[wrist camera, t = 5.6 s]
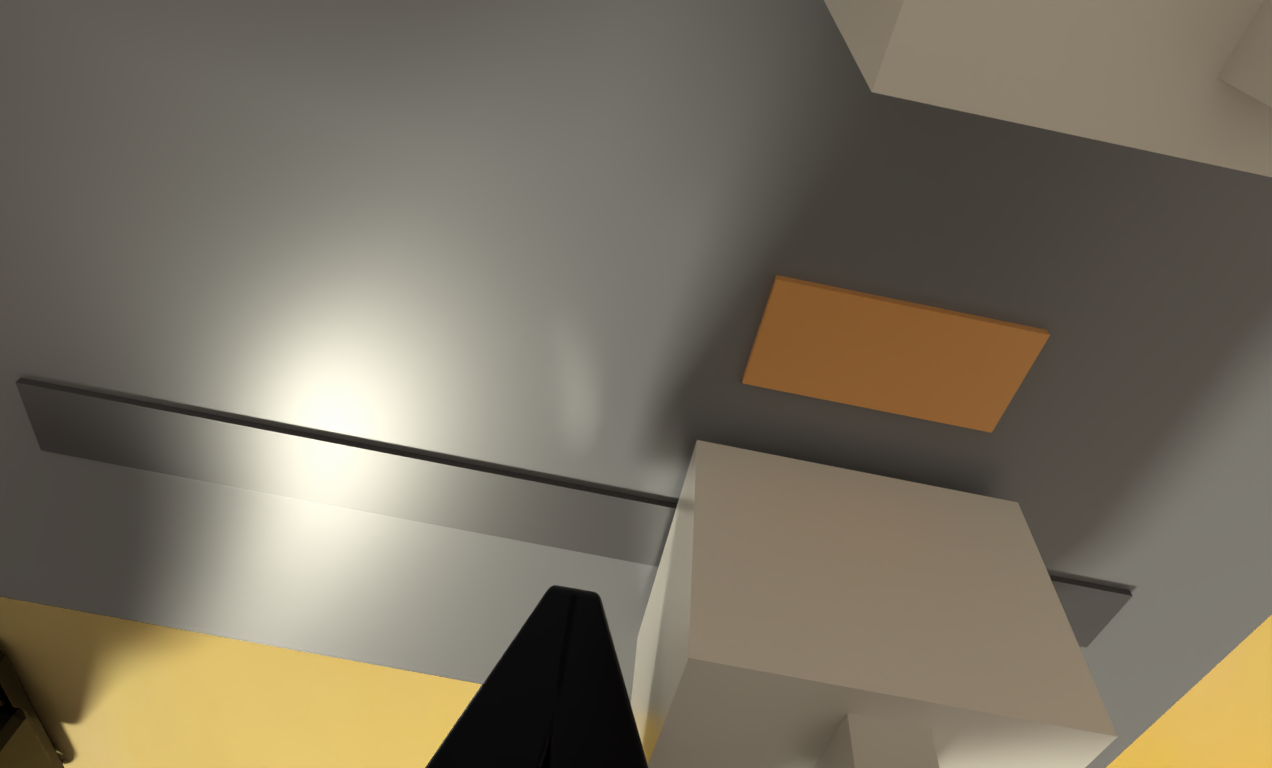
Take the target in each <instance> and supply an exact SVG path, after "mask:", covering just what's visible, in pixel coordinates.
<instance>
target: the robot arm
mask: <svg viewBox="0 0 1272 768" xmlns="http://www.w3.org/2000/svg"><path fill="white" fill-rule="evenodd" d="M0 768H64V766H63V764H62V763H61V761H60V759H59V757H58V755H57V753H56V751H55V749H54V747H53V745H52V743H51V742H50V740H49V738H48V736H47V734H46V732H45V730H44V728H43V726H42V724H41V722H40V721H39V719H38V717H37V715H36V713H35V711H34V709H33V707H32V705H31V703H30V701H29V700H28V698H27V696H26V694H25V692H24V690H23V688H22V686H21V684H20V682H19V680H18V678H17V677H16V675H15V673H14V671H13V669H12V667H11V665H10V663H9V661H8V659H7V657H6V656H5V654H4V653H3V652H2V651H1V650H0ZM425 768H648V764H647V761H646V757H645V753H644V750H643V746H642V743H641V739H640V736H639V732H638V728H637V725H636V721H635V718H634V714H633V710H632V707H631V703H630V700H629V696H628V693H627V689H626V685H625V682H624V678H623V675H622V671H621V667H620V664H619V660H618V657H617V653H616V650H615V646H614V642H613V639H612V635H611V632H610V628H609V624H608V621H607V617H606V614H605V610H604V607H603V603H602V600H601V597H600V596H599V594H598V593H596V592H593V591H587V590H582V589H576V588H570V587H564V586H558V585H553V586H551V587H549V588H548V589H547V590H546V592H545V593H544V595H543V596H542V598H541V599H540V600H539V602H538V603H537V605H536V606H535V608H534V609H533V611H532V612H531V614H530V615H529V617H528V618H527V620H526V621H525V622H524V624H523V625H522V627H521V628H520V630H519V631H518V633H517V634H516V636H515V637H514V639H513V640H512V641H511V643H510V644H509V646H508V647H507V649H506V650H505V652H504V653H503V655H502V656H501V658H500V659H499V661H498V662H497V663H496V665H495V666H494V668H493V669H492V671H491V672H490V674H489V675H488V677H487V678H486V680H485V681H484V683H483V684H482V685H481V687H480V688H479V690H478V691H477V693H476V694H475V696H474V697H473V699H472V700H471V702H470V703H469V704H468V706H467V707H466V709H465V710H464V712H463V713H462V715H461V716H460V718H459V719H458V721H457V722H456V724H455V725H454V726H453V728H452V729H451V731H450V732H449V734H448V735H447V737H446V738H445V740H444V741H443V743H442V744H441V746H440V747H439V748H438V750H437V751H436V753H435V754H434V756H433V757H432V759H431V760H430V762H429V763H428V765H427V766H426V767H425Z"/></svg>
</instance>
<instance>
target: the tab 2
mask: <svg viewBox="0 0 1272 768" xmlns="http://www.w3.org/2000/svg"><path fill="white" fill-rule="evenodd" d="M631 707H632V710H633V714H634V718H635V721H636V725H637V728H638V732H639V736H640V739H641V743H642V746H643V750H644V753H645V757H646V761H647V764H648V768H1085V767H1086V766H1088V765H1089V764H1090V763H1091V762H1092V761H1093V760H1094V759H1095V758H1096V757H1097V756H1098V755H1099V754H1100V753H1101V752H1102V751H1103V750H1104V749H1105V748H1106V747H1108V746H1109V745H1110V744H1111V743H1112V742H1113V741H1114V740H1115V739H1116V738H1117V737H1118V736H1117V734H1116V732H1115V729H1114V727H1113V725H1112V722H1111V720H1110V718H1109V715H1108V713H1107V711H1106V708H1105V706H1104V703H1103V701H1102V699H1101V696H1100V694H1099V692H1098V689H1097V687H1096V685H1095V682H1094V680H1093V678H1092V675H1091V673H1090V671H1089V668H1088V666H1087V663H1086V661H1085V659H1084V656H1083V654H1082V652H1081V649H1080V647H1079V645H1078V642H1077V640H1076V638H1075V635H1074V633H1073V631H1072V628H1071V626H1070V623H1069V621H1068V619H1067V616H1066V614H1065V612H1064V609H1063V607H1062V605H1061V602H1060V600H1059V598H1058V595H1057V593H1056V591H1055V588H1054V586H1053V583H1052V581H1051V579H1050V576H1049V574H1048V572H1047V569H1046V567H1045V565H1044V562H1043V560H1042V558H1041V555H1040V553H1039V551H1038V548H1037V546H1036V543H1035V541H1034V539H1033V536H1032V534H1031V532H1030V529H1029V527H1028V525H1027V522H1026V520H1025V518H1024V515H1023V513H1022V511H1021V508H1020V506H1019V503H1018V502H1013V501H1008V500H1003V499H998V498H993V497H988V496H982V495H977V494H972V493H967V492H962V491H957V490H952V489H946V488H941V487H936V486H931V485H926V484H921V483H916V482H911V481H905V480H900V479H895V478H890V477H885V476H880V475H875V474H870V473H864V472H859V471H854V470H849V469H844V468H839V467H834V466H828V465H823V464H818V463H813V462H808V461H803V460H798V459H793V458H787V457H782V456H777V455H772V454H767V453H762V452H757V451H752V450H746V449H741V448H736V447H731V446H726V445H721V444H716V443H710V442H705V441H700V440H697V441H696V444H695V448H694V451H693V454H692V458H691V461H690V464H689V468H688V471H687V474H686V478H685V481H684V484H683V488H682V491H681V494H680V498H679V501H678V504H677V507H676V511H675V514H674V517H673V521H672V524H671V527H670V531H669V534H668V537H667V541H666V544H665V547H664V551H663V554H662V557H661V561H660V564H659V567H658V571H657V574H656V577H655V581H654V584H653V587H652V591H651V594H650V597H649V601H648V604H647V607H646V611H645V614H644V617H643V621H642V624H641V627H640V631H639V634H638V638H637V648H636V658H635V668H634V678H633V688H632V698H631Z"/></svg>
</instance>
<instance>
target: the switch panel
mask: <svg viewBox="0 0 1272 768" xmlns="http://www.w3.org/2000/svg"><path fill="white" fill-rule="evenodd" d="M697 440H700V441H705V442H710V443H716V444H721V445H726V446H731V447H736V448H741V449H746V450H752V451H757V452H762V453H767V454H772V455H777V456H782V457H787V458H793V459H798V460H803V461H808V462H813V463H818V464H823V465H828V466H834V467H839V468H844V469H849V470H854V471H859V472H864V473H870V474H875V475H880V476H885V477H890V478H895V479H900V480H905V481H911V482H916V483H921V484H926V485H931V486H936V487H941V488H946V489H952V490H957V491H962V492H967V493H972V494H977V495H982V496H988V497H993V498H998V499H1003V500H1008V501H1013V502H1018V503H1019V506H1020V508H1021V511H1022V513H1023V515H1024V518H1025V520H1026V522H1027V525H1028V527H1029V529H1030V532H1031V534H1032V536H1033V539H1034V541H1035V543H1036V546H1037V548H1038V551H1039V553H1040V555H1041V558H1042V560H1043V562H1044V565H1045V567H1046V569H1047V572H1048V574H1049V576H1050V579H1051V581H1052V583H1053V586H1054V588H1055V591H1056V593H1057V595H1058V598H1059V600H1060V602H1061V605H1062V607H1063V609H1064V612H1065V614H1066V616H1067V619H1068V621H1069V623H1070V626H1071V628H1072V631H1073V633H1074V635H1075V638H1076V640H1077V642H1078V645H1079V647H1080V649H1081V652H1082V654H1083V656H1084V659H1085V661H1086V663H1087V666H1088V668H1089V671H1090V673H1091V675H1092V678H1093V680H1094V682H1095V685H1096V687H1097V689H1098V692H1099V694H1100V696H1101V699H1102V701H1103V703H1104V706H1105V708H1106V711H1107V713H1108V715H1109V718H1110V720H1111V722H1112V725H1113V727H1114V729H1115V732H1116V734H1117V736H1118V737H1117V738H1116V739H1115V740H1114V741H1113V742H1112V743H1111V744H1110V745H1109V746H1108V747H1106V748H1105V749H1104V750H1103V751H1102V752H1101V753H1100V754H1099V755H1098V756H1097V757H1096V758H1095V759H1094V760H1093V761H1092V762H1091V763H1090V764H1089V765H1088V766H1086V767H1085V768H1106V767H1107V766H1108V765H1109V764H1110V763H1111V762H1112V761H1113V760H1114V759H1115V758H1117V757H1118V756H1119V755H1120V754H1121V753H1122V752H1123V751H1124V750H1125V749H1126V748H1127V747H1128V746H1130V745H1131V744H1132V743H1133V742H1134V741H1135V740H1136V739H1137V738H1138V737H1139V736H1140V735H1141V734H1143V733H1144V732H1145V731H1146V730H1147V729H1148V728H1149V727H1150V726H1151V725H1152V724H1153V723H1154V722H1156V721H1157V720H1158V719H1159V718H1160V717H1161V716H1162V715H1163V714H1164V713H1165V712H1166V711H1167V710H1169V709H1170V708H1171V707H1172V706H1173V705H1174V704H1175V703H1176V702H1177V701H1178V700H1179V699H1180V698H1182V697H1183V696H1184V695H1185V694H1186V693H1187V692H1188V691H1189V690H1190V689H1191V688H1192V687H1193V686H1195V685H1196V684H1197V683H1198V682H1199V681H1200V680H1201V679H1202V678H1203V677H1204V676H1205V675H1206V674H1208V673H1209V672H1210V671H1211V670H1212V669H1213V668H1214V667H1215V666H1216V665H1217V664H1218V663H1219V662H1221V661H1222V660H1223V659H1224V658H1225V657H1226V656H1227V655H1228V654H1229V653H1230V652H1231V651H1232V650H1234V649H1235V648H1236V647H1237V646H1238V645H1239V644H1240V643H1241V642H1242V641H1243V640H1244V639H1245V638H1247V637H1248V636H1249V635H1250V634H1251V633H1252V632H1253V631H1254V630H1255V629H1256V628H1257V627H1258V626H1260V625H1261V624H1262V623H1263V622H1264V621H1265V620H1266V619H1267V618H1268V617H1269V616H1270V615H1271V614H1272V177H1268V176H1263V175H1258V174H1254V173H1249V172H1244V171H1239V170H1235V169H1230V168H1225V167H1221V166H1216V165H1211V164H1207V163H1202V162H1197V161H1193V160H1188V159H1183V158H1178V157H1174V156H1169V155H1164V154H1160V153H1155V152H1150V151H1146V150H1141V149H1136V148H1132V147H1127V146H1122V145H1118V144H1113V143H1108V142H1103V141H1099V140H1094V139H1089V138H1085V137H1080V136H1075V135H1071V134H1066V133H1061V132H1057V131H1052V130H1047V129H1042V128H1038V127H1033V126H1028V125H1024V124H1019V123H1014V122H1010V121H1005V120H1000V119H996V118H991V117H986V116H982V115H977V114H972V113H967V112H963V111H958V110H953V109H949V108H944V107H939V106H935V105H930V104H925V103H921V102H916V101H911V100H906V99H902V98H897V97H892V96H888V95H883V94H878V93H874V92H871V90H870V88H869V86H868V84H867V82H866V80H865V79H864V77H863V75H862V73H861V71H860V69H859V67H858V65H857V63H856V61H855V59H854V57H853V56H852V54H851V52H850V50H849V48H848V46H847V44H846V42H845V40H844V38H843V36H842V34H841V33H840V31H839V29H838V27H837V25H836V23H835V21H834V19H833V17H832V15H831V13H830V11H829V10H828V8H827V6H826V4H825V2H824V0H0V597H5V598H10V599H16V600H21V601H27V602H32V603H38V604H43V605H49V606H54V607H60V608H65V609H71V610H76V611H82V612H87V613H93V614H98V615H104V616H109V617H115V618H120V619H126V620H131V621H137V622H142V623H148V624H153V625H159V626H164V627H170V628H175V629H181V630H186V631H192V632H198V633H203V634H209V635H214V636H220V637H225V638H231V639H236V640H242V641H247V642H253V643H258V644H264V645H269V646H275V647H280V648H286V649H291V650H297V651H302V652H308V653H313V654H319V655H324V656H330V657H335V658H341V659H346V660H352V661H357V662H363V663H368V664H374V665H379V666H385V667H390V668H396V669H401V670H407V671H412V672H418V673H424V674H429V675H435V676H440V677H446V678H451V679H457V680H462V681H468V682H473V683H479V684H483V683H484V681H485V680H486V678H487V677H488V675H489V674H490V672H491V671H492V669H493V668H494V666H495V665H496V663H497V662H498V661H499V659H500V658H501V656H502V655H503V653H504V652H505V650H506V649H507V647H508V646H509V644H510V643H511V641H512V640H513V639H514V637H515V636H516V634H517V633H518V631H519V630H520V628H521V627H522V625H523V624H524V622H525V621H526V620H527V618H528V617H529V615H530V614H531V612H532V611H533V609H534V608H535V606H536V605H537V603H538V602H539V600H540V599H541V598H542V596H543V595H544V593H545V592H546V590H547V589H548V588H549V587H551V586H553V585H558V586H564V587H570V588H576V589H582V590H587V591H593V592H596V593H598V594H599V596H600V597H601V600H602V603H603V607H604V610H605V614H606V617H607V621H608V624H609V628H610V632H611V635H612V639H613V642H614V646H615V650H616V653H617V657H618V660H619V664H620V667H621V671H622V675H623V678H624V682H625V685H626V689H627V693H628V696H629V700H630V703H631V698H632V688H633V678H634V668H635V658H636V648H637V638H638V634H639V631H640V627H641V624H642V621H643V617H644V614H645V611H646V607H647V604H648V601H649V597H650V594H651V591H652V587H653V584H654V581H655V577H656V574H657V571H658V567H659V564H660V561H661V557H662V554H663V551H664V547H665V544H666V541H667V537H668V534H669V531H670V527H671V524H672V521H673V517H674V514H675V511H676V507H677V504H678V501H679V498H680V494H681V491H682V488H683V484H684V481H685V478H686V474H687V471H688V468H689V464H690V461H691V458H692V454H693V451H694V448H695V444H696V441H697Z"/></svg>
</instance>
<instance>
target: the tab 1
mask: <svg viewBox="0 0 1272 768" xmlns="http://www.w3.org/2000/svg"><path fill="white" fill-rule="evenodd" d="M824 2H825V4H826V6H827V8H828V10H829V11H830V13H831V15H832V17H833V19H834V21H835V23H836V25H837V27H838V29H839V31H840V33H841V34H842V36H843V38H844V40H845V42H846V44H847V46H848V48H849V50H850V52H851V54H852V56H853V57H854V59H855V61H856V63H857V65H858V67H859V69H860V71H861V73H862V75H863V77H864V79H865V80H866V82H867V84H868V86H869V88H870V90H871V92H874V93H878V94H883V95H888V96H892V97H897V98H902V99H906V100H911V101H916V102H921V103H925V104H930V105H935V106H939V107H944V108H949V109H953V110H958V111H963V112H967V113H972V114H977V115H982V116H986V117H991V118H996V119H1000V120H1005V121H1010V122H1014V123H1019V124H1024V125H1028V126H1033V127H1038V128H1042V129H1047V130H1052V131H1057V132H1061V133H1066V134H1071V135H1075V136H1080V137H1085V138H1089V139H1094V140H1099V141H1103V142H1108V143H1113V144H1118V145H1122V146H1127V147H1132V148H1136V149H1141V150H1146V151H1150V152H1155V153H1160V154H1164V155H1169V156H1174V157H1178V158H1183V159H1188V160H1193V161H1197V162H1202V163H1207V164H1211V165H1216V166H1221V167H1225V168H1230V169H1235V170H1239V171H1244V172H1249V173H1254V174H1258V175H1263V176H1268V177H1272V0H824Z"/></svg>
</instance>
